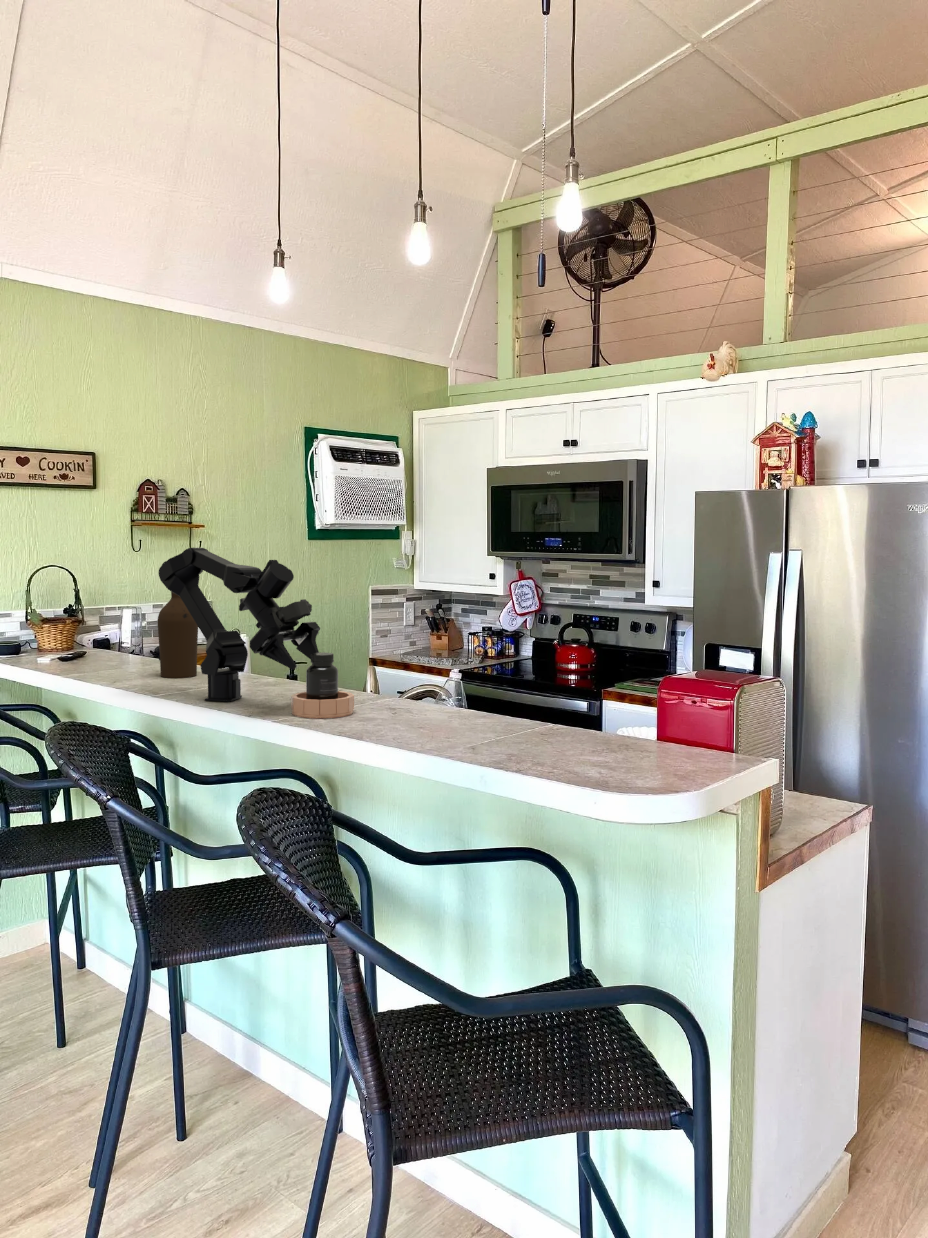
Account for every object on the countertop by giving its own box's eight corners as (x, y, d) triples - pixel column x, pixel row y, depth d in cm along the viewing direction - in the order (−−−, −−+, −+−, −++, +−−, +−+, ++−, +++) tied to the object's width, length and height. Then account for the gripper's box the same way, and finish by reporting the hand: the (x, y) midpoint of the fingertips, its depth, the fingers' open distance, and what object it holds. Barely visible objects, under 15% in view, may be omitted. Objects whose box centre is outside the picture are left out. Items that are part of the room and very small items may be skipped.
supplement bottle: (300, 708, 195) (300, 652, 194) (328, 704, 199) (328, 651, 198) (315, 712, 189) (315, 656, 188) (344, 709, 194) (344, 654, 193)
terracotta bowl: (282, 716, 189) (282, 698, 189) (305, 706, 202) (305, 689, 201) (341, 719, 186) (341, 701, 186) (360, 709, 199) (360, 691, 199)
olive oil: (207, 674, 249) (206, 584, 247) (182, 679, 239) (181, 585, 237) (175, 672, 253) (173, 583, 251) (149, 677, 243) (148, 584, 241)
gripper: (260, 589, 187) (303, 645, 184) (313, 586, 204) (354, 637, 200) (231, 624, 192) (272, 680, 188) (285, 618, 208) (324, 669, 204)
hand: (307, 665), depth 195 cm, fingers open, 9 cm apart
